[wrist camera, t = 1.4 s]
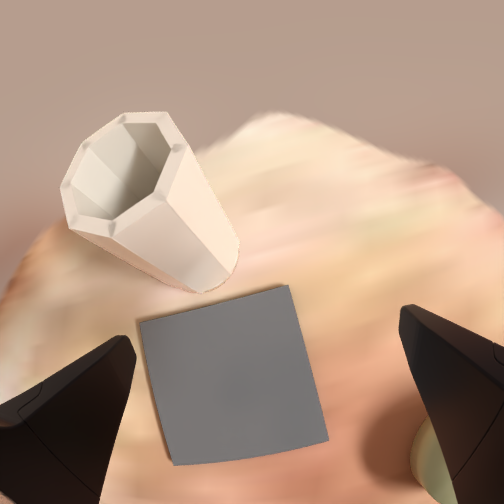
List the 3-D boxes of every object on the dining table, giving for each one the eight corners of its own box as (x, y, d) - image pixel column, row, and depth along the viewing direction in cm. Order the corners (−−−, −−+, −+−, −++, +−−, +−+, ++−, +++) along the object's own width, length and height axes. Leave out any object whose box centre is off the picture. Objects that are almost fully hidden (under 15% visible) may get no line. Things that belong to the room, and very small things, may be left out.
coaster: (328, 438, 19) (329, 440, 18) (176, 463, 20) (173, 465, 19) (288, 286, 23) (288, 284, 22) (142, 323, 23) (139, 322, 23)
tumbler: (184, 308, 23) (78, 263, 11) (152, 243, 26) (55, 163, 13) (254, 264, 24) (208, 174, 11) (215, 202, 26) (155, 93, 14)
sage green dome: (431, 505, 15) (448, 524, 11) (391, 440, 18) (407, 456, 14) (507, 438, 15) (532, 446, 12) (475, 368, 18) (502, 369, 15)
